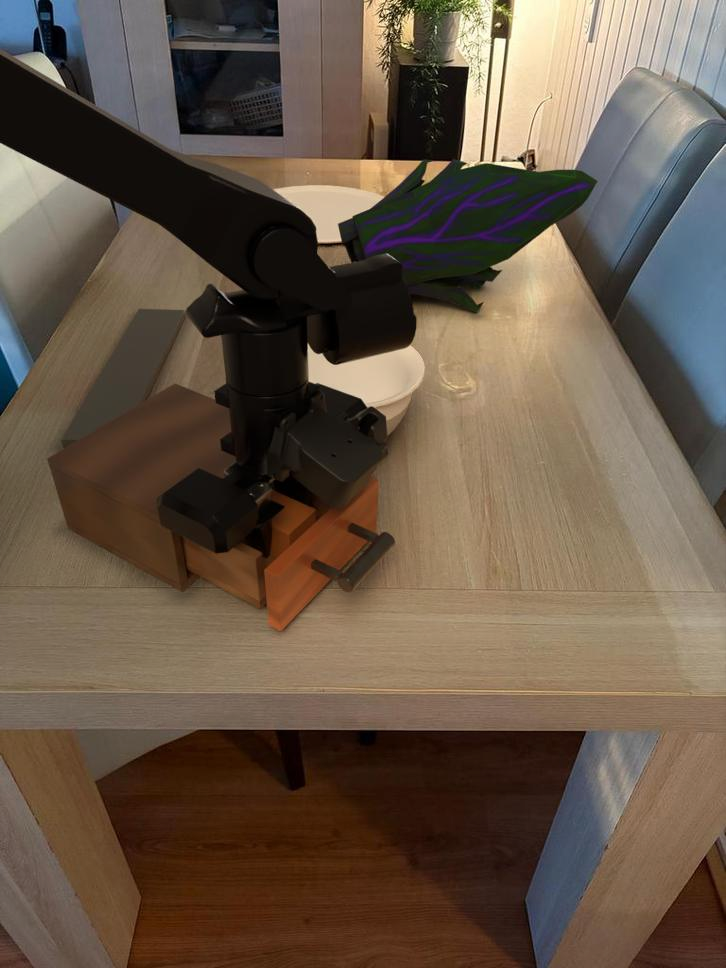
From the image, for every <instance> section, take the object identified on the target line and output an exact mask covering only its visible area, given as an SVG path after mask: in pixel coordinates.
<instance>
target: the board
mask: <svg viewBox="0 0 726 968" xmlns="http://www.w3.org/2000/svg"><path fill="white" fill-rule="evenodd" d="M137 309H138V310H137V311H136V313H135V315H134V316H133V318H132V320H131V321H130V323H129V325H128V326H127V328H126V330H125V331H124V332H123V335H122V337H121V338H120V340H119V341H118V343H117V344H116V347H114V350H113V351H112V353H111V355H110V357H109V358H108V360H107V362H105V365H104V367H102V370H101V372H100V373H99V375H98V377H97V378H96V380H95V381H94V384H93V385H92V387H91V389H90V390H89V392H88V394H87V395H86V397H85V398H84V401H83V402H82V404H81V405H80V407H79V409H78V410H77V412H76V414H75V416H74V417H73V418H72V421H71V422H70V424H69V425H68V427H67V429H66V431H65V432H64V434H63V436H62V437H61V444H62V448H66V447H67V446H69V445H71V444H73V443H74V442H76V441H78V440H79V439H81V438H83V437H84V436H86V435H88V434H90V433H91V432H93V431H95V430H96V429H98V428H100V427H101V426H103V425H105V424H107V423H108V422H110V421H112V420H113V419H115V418H117V417H118V416H120V415H122V414H124V413H125V412H127V411H129V410H130V409H132V408H134V407H135V406H137V405H139V404H141V403H142V402H144V401H146V400H147V399H148V398H149V395H150V394H151V390H153V389H152V388H153V387H154V384H155V382H156V380H157V378H158V376H159V374H160V371H161V369H162V368H163V365H164V363H165V361H166V359H167V357H168V354H169V352H170V350H171V348H172V346H173V344H174V342H175V340H176V338H177V336H178V333H179V331H180V329H181V327H182V325H183V323H184V321H185V319H186V310H185V309H162V308H161V309H159V308H137Z"/></svg>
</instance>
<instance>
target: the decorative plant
mask: <svg viewBox="0 0 726 968" xmlns="http://www.w3.org/2000/svg"><path fill="white" fill-rule="evenodd" d="M432 162H434V160H432V159H425V158H424V159H422V160H421V161H420V162H419V164H418V165H417V166H416V167H415V168H414V169H413V170H412V171H411V172H410V173H409V174H408V175H407V176H406V177H405V178H404V179H403V180H402V181H400V183H399V184H398V185H397V186H396V187H394V188H393V189H392V190H391V191H390V192H389V193H387V194H386V195H385V196H384V198H383V199H382V200H380V201H379V202H378V203H377V204H375V205H374V206H373V207H372V208H370V209H369V210H366V211H364V212H361V213H359V214H357V215H354V216H352V217H353V218H351V219H348V220H346V221H343V222H341V223H338V227H339V232H340V236H341V240H342V242H341V244H342V247H344V248H345V250H346V254H347V256H348V258H349V260H350V263H353V262H359V261H363V260H366V259H368V258H370V257H372V256H376V255H381V254H389V255H390V256H391V257H393V258H394V259H396V260H397V261H399V262H400V263H401V264H402V265H403V268H402V280H403V281H404V283H405V285H406V287H407V289H408V292H409V294H412V295H418V296H423V297H426V298H427V297H428V298H432V299H436V300H440V301H444V302H446V303H447V302H448V303H451V304H453V305H456V306H459V307H462V308H465V309H468V310H469V311H472V312H474V313H476V314H477V313H478V312H479V310H480V309H481V307H482V306H483V304H484V303H485V301H483V302H480V303H478V304H477V303H476V302H475V300H474V299H473V298H472V296H471V295H470V294H469V293H468V292H467V291H466V290H464V289H463V288H466V287H467V288H473V289H478V290H479V289H480V288H482V287H483V286H484V285H485V284H486V282H489V283H492V282H493V281H494V280H495V279H496V278H497V277H498V276H499V275H500V274H501V273H502V272H503V269H494V268H493V266H495V265H498V264H500V263H503V262H505V261H508V260H510V259H511V258H512V257H514V256H515V255H516V254H517V253H518V252H520V251H521V250H522V249H524V248H525V247H526V246H528V245H529V244H530V243H531V242H532V241H534V240H535V239H536V238H537V237H539V236H540V235H541V234H543V233H544V232H545V231H546V230H548V229H549V228H551V226H553V225H555V224H557V223H558V222H560V221H562V220H563V219H565V218H567V217H569V216H571V215H572V214H573V213H574V212H576V211H577V210H578V209H579V208H581V207H582V206H583V205H584V204H585V203H586V202H587V201H588V199H589V197H590V196H591V194H592V192H593V190H594V189H595V187H596V185H597V183H598V180H597V179H595V178H594V177H592V176H591V175H589V174H588V173H586V172H585V171H583V170H578V169H551V170H542V171H541V170H540V171H537V170H530V169H524V168H518V167H512V166H508V165H507V166H506V165H502V164H501V165H500V164H495V163H494V164H493V163H488V162H485V163H481V164H477V165H473V166H469V167H464V166H467V164H469V162H466V161H463V160H458V159H455V158H453V159H451V161H450V162H449V163H448V164H447V165H446V166H445V167H444V168H443V169H442V170H441V171H440V172H439V173H438V174H437V175H436V176H435V177H433V178H432V179H431V180H429V181H427V182H426V180H425V179H423V178H424V176H425V174H426V172H427V167H428V164H429V163H432ZM425 182H426V183H425Z"/></svg>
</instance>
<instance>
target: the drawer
mask: <svg viewBox="0 0 726 968" xmlns="http://www.w3.org/2000/svg"><path fill="white" fill-rule="evenodd" d="M379 481H380V480H379V479H378V478H375V477H374V476H372V477H371V479H370V481H369V483H368V485H367V486H366V487H365V488H364V489H362V490H361V491H360V492H359V493H358V494H357V495H356V496H354V497H353V498H352V499H351V500H350V502H349V503H348V504H347V505H346V506H345V507H343V508H342V509H332V508H329V507H327V506H326V505H324V504H323V503H322V502H321V500H320V498H318V497H317V496H316V495H315V494H313V493H312V494H311V496H310V500H309V503H308V506H309V507H312V508H314V509H316V522H315V523H314V524H313V525H312V526H311V527H310V528H309V529H308V530H307V531H305V532H304V533H303V534H302V535H301V536H300V537H299V538H298V539H297V540H296V541H295V542H294V543H293V544H291V545H290V546H289V547H288V548H287V549H286V550H285V551H284V552H283V553H282V554H281V555H280V556H279V557H277V558H276V559H273V558H271V557H268V558H265V557H263V556H262V552H260V551H258V550H256V549H254V548H252V547H250V546H248V545H246V540H245V538H244V539H243V540H242V541H240V542H239V543H238V544H237V545H236V546H235V547H233V548H232V549H231V550H230V551H229V552H226V553H218V554H215V553H213V552H212V551H210V550H208V549H206V548H204V547H202V546H200V545H198V544H196V543H194V542H192V541H190V540H188V539H186V538H184V537H182V536H180V539H181V544H182V550H183V556H184V561H185V567H186V569H187V570H189V571H191V572H193V573H195V574H197V575H199V576H200V577H199V578H202V579H204V580H206V581H208V582H210V583H211V584H213V585H215V586H216V587H219V588H220V589H222V590H224V591H226V592H228V593H230V594H232V595H234V596H236V597H237V598H239V599H241V600H243V601H245V602H246V603H249V604H251V605H253V606H254V607H256V608H258V609H262V608H263V607H264V606H265V605H266V610H267V611H266V612H267V621H268V623H267V624H268V625H269V626H270V627H272V628H274V629H276V630H277V631H279V632H282V631H283V630H284V629H285V627H287V625H289V623H290V622H292V620H294V618H295V617H296V616H297V615H298V614H299V613H300V612H301V611H302V610H303V609H304V608H305V607H306V606H307V605H308V604H309V603H310V602H311V601H312V600H313V598H315V597H316V595H317V594H318V593H319V592H320V591H322V589H323V588H324V587H325V586H326V585H327V584H328V583H329V582H330V581H331V580H333V581H335V582H337V584H338V587H339V588H340V589H341V591H343V592H345V593H352V592H353V591H354V590H355V589H356V588H357V587H358V586H359V584H361V582H363V580H364V579H365V578H366V577H367V576H368V575H369V573H371V572H372V570H373V569H374V568H375V567H376V566H377V565H378V564H379V563H380V562H381V560H382V559H383V558H384V557H385V556H386V555H387V554H388V553H389V552H390V551H391V550H392V549H393V547H394V546H395V545H396V540H395V538H394V536H393V535H392V534H391V533H390V532H387V531H382V532H380V533H377V529H378V528H377V525H378V524H377V523H378V504H379V503H378V502H379V483H380V482H379ZM270 484H271V486H272V490H274V491H276V490H275V487H274V483H273V482H272V483H270ZM367 542H370V544H369V545H368V546H367V547H366V548H365V549H364V550H363V551H362V552H361V554H359V556H357V558H356V559H354V561H353V562H352V563H351V564H350V565H349V566H348V567H347V568H346V569H345V570H344V571H341V570H342V569H343V568H344V567H345V565H347V563H348V562H349V561H350V560H351V559H352V558H353V557H354V556H355V555H356V554H357V553H358V552H359V551H360V550H361V549H362V548H363V547H364V546H365V545H366V543H367Z"/></svg>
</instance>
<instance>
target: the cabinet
mask: <svg viewBox="0 0 726 968" xmlns="http://www.w3.org/2000/svg"><path fill="white" fill-rule="evenodd" d="M230 432H231V424H230V414H229V408H227V407H224V406H222V405H219V404H217V403H216V401H215V398H212V397H210V396H208V395H205V394H202V393H200V392H198V391H195V390H193V389H190V388H187V387H185V386H182V385H181V384H178V383H173V384H171V385H169V386H168V387H166V388H164V389H163V390H161V391H159V392H158V393H156V394H154V395H152V396H150V397H148V398H147V399H146V401H144V402H142V403H141V404H139V405H137V406H135V407H134V408H132V409H130V410H129V411H127V412H125V413H124V414H122V415H120V416H118V417H117V418H115V419H113V420H112V421H110V422H108V423H107V424H105V425H103V426H101V427H100V428H98V429H96V430H95V431H93V432H91V433H90V434H88V435H86V436H84V437H83V438H81V439H79V440H78V441H76V442H74V443H73V444H71V445H69V446H67V447H63V448H62V449H60V450H59V451H57V452H55V453H54V454H52V455H51V456H49V457H47V458H46V461H47V463H48V467H49V470H50V474H51V477H52V479H53V483H54V487H55V490H56V493H57V496H58V501H59V504H60V507H61V510H62V514H63V517H64V520H65V523H66V527H67V529H69V530H70V531H72V532H74V533H75V534H77V535H79V536H81V537H83V538H84V539H86V540H88V541H90V542H92V543H94V544H95V545H97V546H99V547H101V548H103V550H106V551H108V552H110V553H112V554H113V555H115V556H117V557H119V558H120V559H122V560H124V561H125V562H128V563H129V564H131V565H133V566H135V567H137V568H139V569H140V570H141V571H144V572H146V573H147V574H149V575H150V576H153V577H154V578H156V579H158V580H160V581H162V582H163V583H165V584H167V585H169V586H171V587H172V588H174V589H176V590H178V591H179V592H181V593H182V592H184V591H186V589H188V588H189V587H190V586H191V585H192V584H194V583H195V582H196V581H197V580H198V579H199V578H201V577H200V576H199V575H197V574H195V573H193V572H191V571H189V570H187V569H186V567H185V561H184V556H183V550H182V544H181V539H180V535H179V534H177V533H175V532H173V531H171V530H169V529H167V528H165V527H163V526H161V524H160V519H159V514H158V509H157V497H159V496H160V495H162V494H163V493H164V492H166V491H167V490H169V489H170V488H171V487H173V486H174V485H175V484H177V483H178V482H180V481H181V480H182V479H184V478H185V477H187V476H188V475H189V474H191V473H192V472H194V471H195V470H196V469H198V468H200V469H202V470H205V471H207V472H209V473H211V474H213V475H216V476H218V477H220V478H224V477H226V476H225V475H224V470H225V469H226V468H228V467H229V466H230V465H232V464H233V463H234V462H236V458H235V456H233V455H231V454H228V453H226V452H224V451H221V443H220V439H221V438H223V437H224V436H226V435H227V434H228V433H230Z"/></svg>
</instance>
